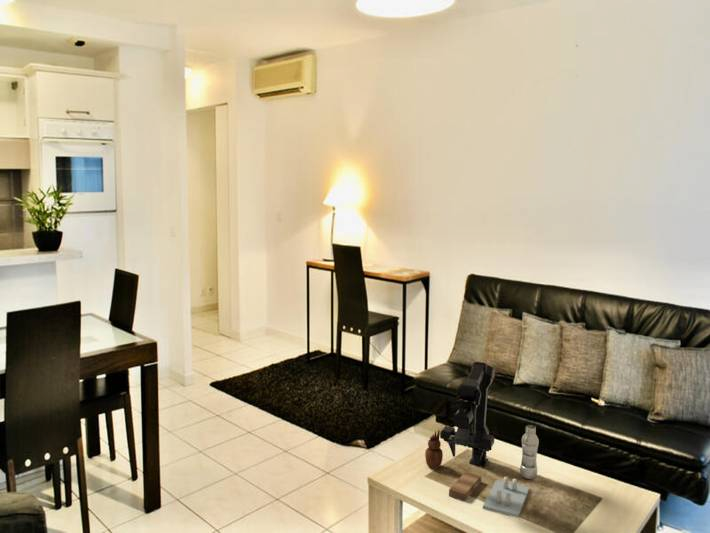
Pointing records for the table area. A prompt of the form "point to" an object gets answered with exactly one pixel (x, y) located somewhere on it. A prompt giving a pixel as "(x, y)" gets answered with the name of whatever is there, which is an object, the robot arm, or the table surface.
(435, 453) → the wooden figurine
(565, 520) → the table surface
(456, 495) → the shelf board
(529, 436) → the plastic bottle
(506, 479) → the peg stand
